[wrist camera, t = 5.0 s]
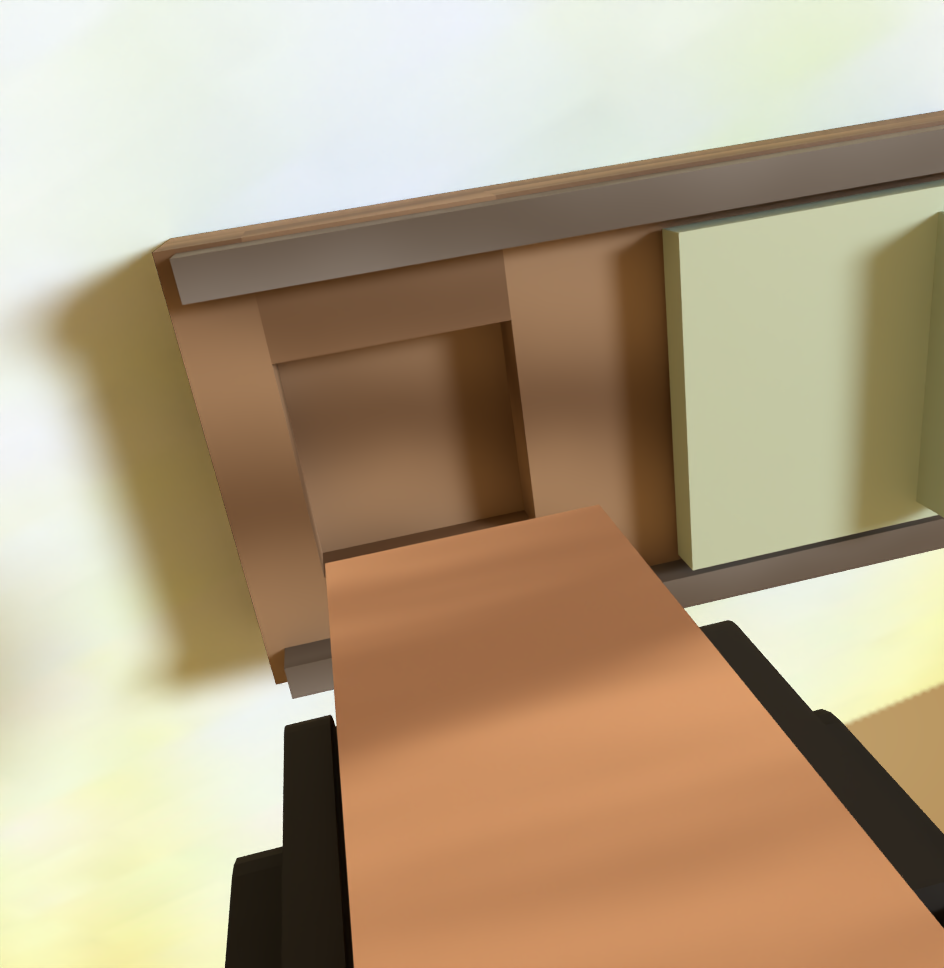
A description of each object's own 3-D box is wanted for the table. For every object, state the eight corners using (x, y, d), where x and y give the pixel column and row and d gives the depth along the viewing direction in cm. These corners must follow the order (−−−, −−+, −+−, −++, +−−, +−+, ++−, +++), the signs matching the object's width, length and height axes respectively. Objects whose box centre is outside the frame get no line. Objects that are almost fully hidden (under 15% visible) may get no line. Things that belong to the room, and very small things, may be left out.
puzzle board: (170, 238, 22) (144, 258, 18) (944, 110, 24) (1058, 105, 21) (278, 628, 27) (274, 706, 23) (915, 486, 29) (1003, 536, 25)
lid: (662, 228, 21) (717, 242, 18) (956, 176, 22) (1050, 182, 19) (678, 554, 24) (725, 606, 22) (929, 498, 25) (1004, 541, 23)
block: (325, 563, 12) (374, 1262, 5) (599, 504, 12) (1041, 1048, 5) (378, 780, 13) (476, 1548, 6) (617, 722, 14) (970, 1368, 7)
